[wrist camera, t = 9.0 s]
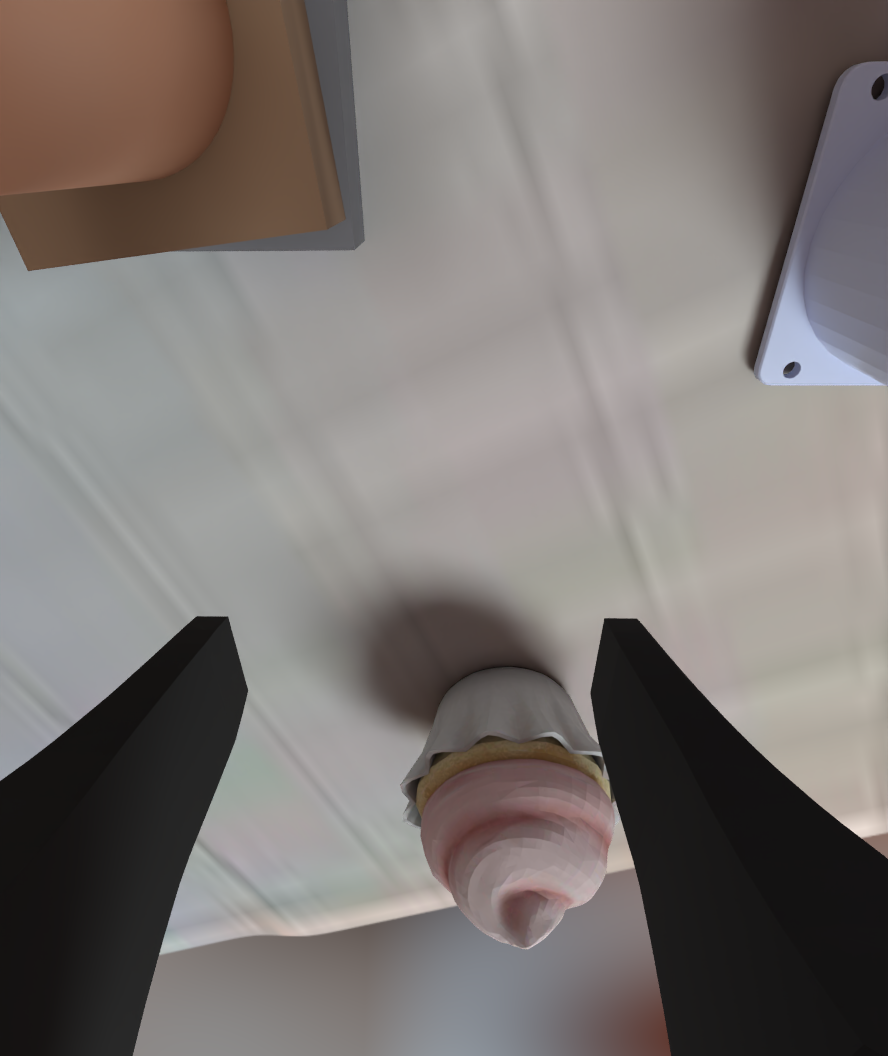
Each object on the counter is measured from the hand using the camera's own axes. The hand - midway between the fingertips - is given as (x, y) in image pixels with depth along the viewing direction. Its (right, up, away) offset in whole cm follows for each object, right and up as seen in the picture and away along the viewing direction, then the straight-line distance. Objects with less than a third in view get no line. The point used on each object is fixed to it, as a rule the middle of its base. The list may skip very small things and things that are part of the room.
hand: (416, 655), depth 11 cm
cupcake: (+3, -6, +16) cm, 18 cm away
